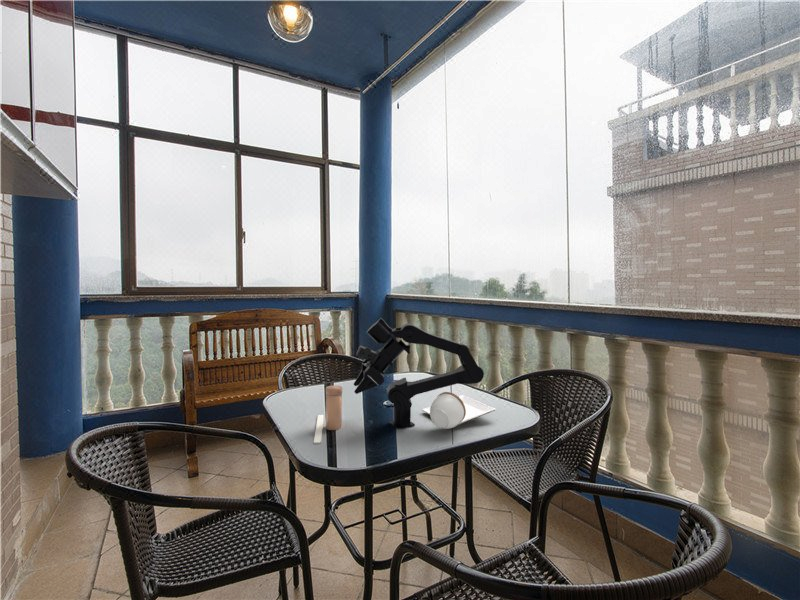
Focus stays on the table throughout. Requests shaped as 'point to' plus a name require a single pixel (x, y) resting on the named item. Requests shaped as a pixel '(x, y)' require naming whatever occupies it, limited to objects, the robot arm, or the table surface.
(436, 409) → the white rounded piece
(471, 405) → the plate
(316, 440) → the line
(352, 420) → the table surface
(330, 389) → the tumbler
